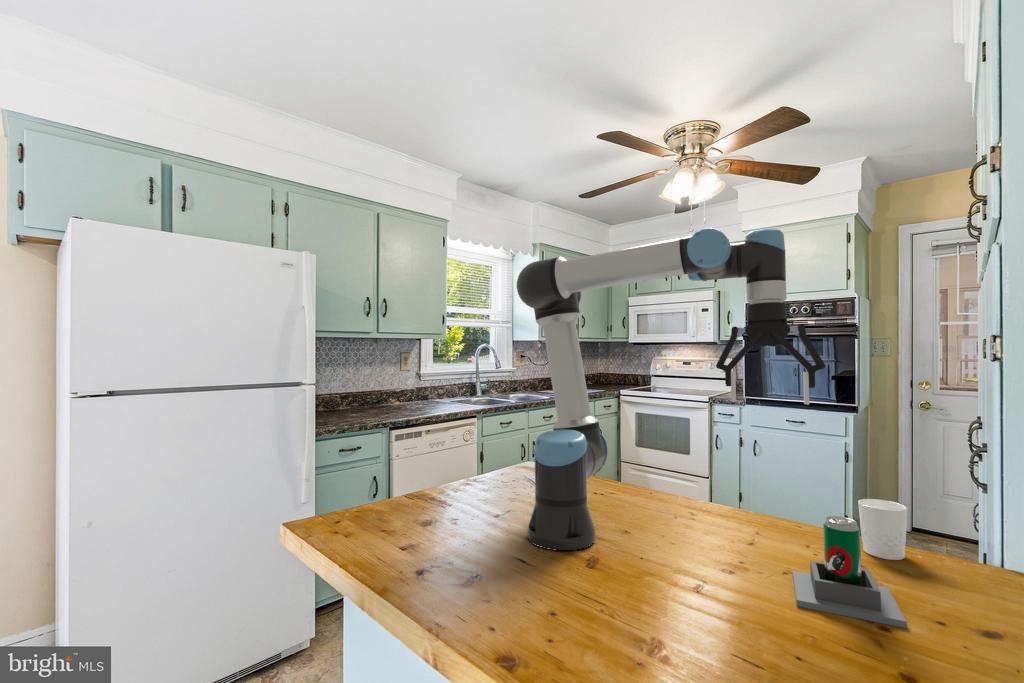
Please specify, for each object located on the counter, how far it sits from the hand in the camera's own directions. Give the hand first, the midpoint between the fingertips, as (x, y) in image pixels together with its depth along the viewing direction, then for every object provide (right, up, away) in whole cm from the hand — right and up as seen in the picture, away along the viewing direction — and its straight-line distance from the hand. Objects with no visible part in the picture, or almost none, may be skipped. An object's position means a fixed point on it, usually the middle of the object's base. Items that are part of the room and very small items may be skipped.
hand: (769, 403), depth 101 cm
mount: (+1, -30, -22) cm, 37 cm away
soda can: (+1, -29, -22) cm, 36 cm away
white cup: (+22, -31, -3) cm, 38 cm away
